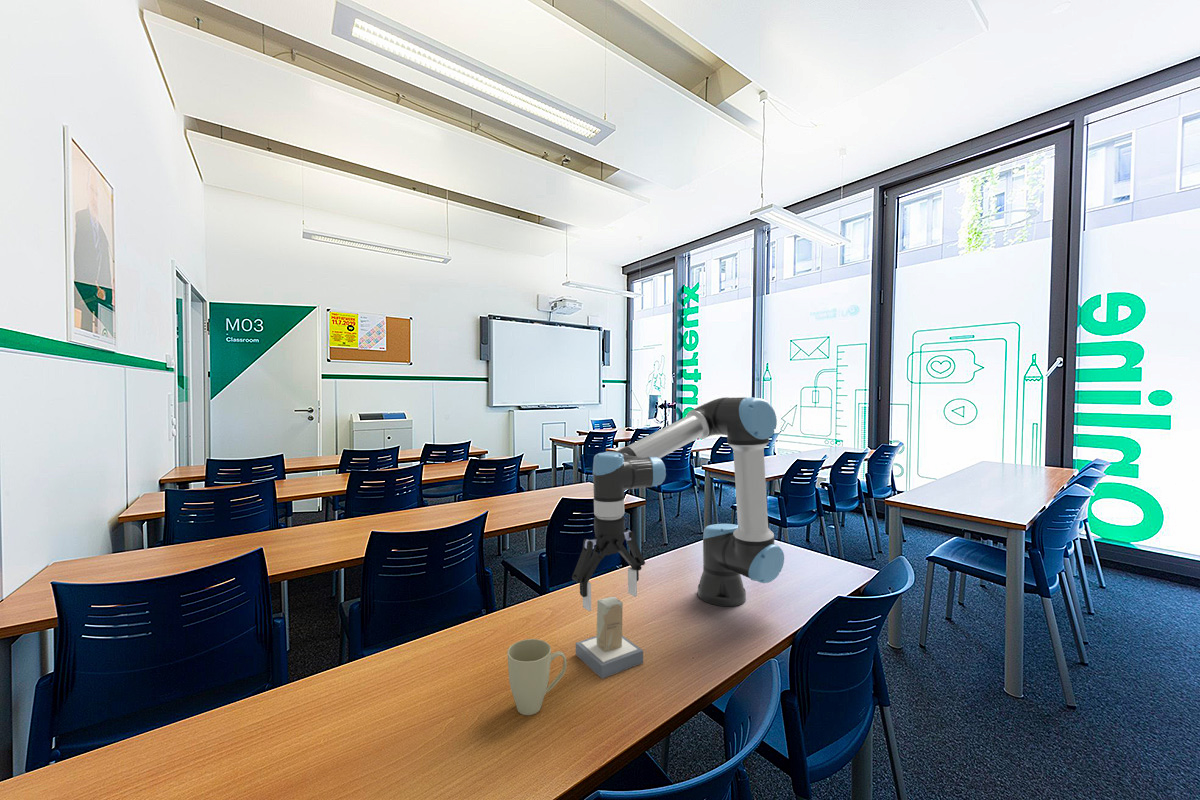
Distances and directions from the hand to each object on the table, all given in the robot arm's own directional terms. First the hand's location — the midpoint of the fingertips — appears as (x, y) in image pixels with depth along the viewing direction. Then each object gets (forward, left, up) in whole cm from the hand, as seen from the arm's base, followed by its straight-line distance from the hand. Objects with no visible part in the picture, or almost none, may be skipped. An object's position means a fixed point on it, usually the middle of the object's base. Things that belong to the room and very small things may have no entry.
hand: (610, 601), depth 115 cm
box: (0, 0, -11) cm, 11 cm away
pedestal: (0, 0, -14) cm, 14 cm away
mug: (+23, +6, -14) cm, 28 cm away
